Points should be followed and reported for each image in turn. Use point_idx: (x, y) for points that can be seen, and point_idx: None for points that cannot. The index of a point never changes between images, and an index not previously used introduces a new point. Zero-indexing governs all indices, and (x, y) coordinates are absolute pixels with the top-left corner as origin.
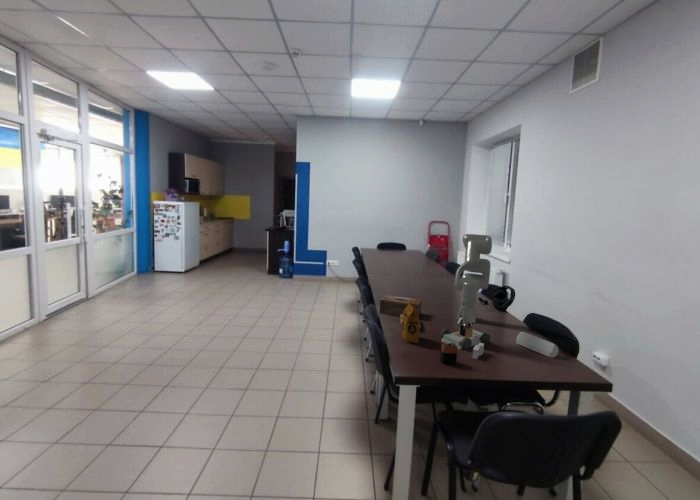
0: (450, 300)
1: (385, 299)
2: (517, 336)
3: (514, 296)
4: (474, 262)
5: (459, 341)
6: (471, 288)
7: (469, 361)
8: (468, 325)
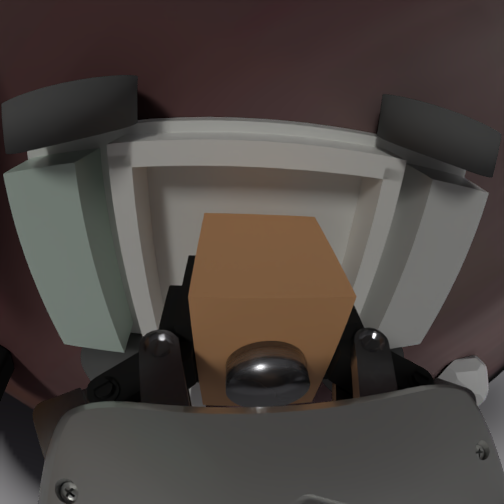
0: None
1: None
2: (475, 376)
3: None
4: None
5: (70, 344)
6: None
7: (69, 386)
8: (347, 367)
